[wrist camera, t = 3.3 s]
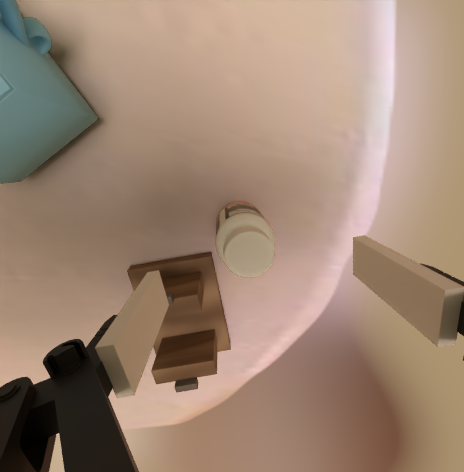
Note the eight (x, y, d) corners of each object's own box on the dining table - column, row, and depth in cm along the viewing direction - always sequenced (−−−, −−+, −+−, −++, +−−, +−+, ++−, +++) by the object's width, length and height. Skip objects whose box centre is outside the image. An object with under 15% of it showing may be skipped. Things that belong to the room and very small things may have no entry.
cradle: (130, 266, 28) (103, 298, 22) (211, 252, 28) (208, 280, 21) (160, 354, 33) (145, 404, 26) (230, 342, 32) (232, 389, 26)
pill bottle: (244, 252, 28) (256, 297, 19) (207, 229, 27) (200, 265, 18) (271, 217, 27) (297, 245, 18) (233, 191, 26) (240, 208, 17)
